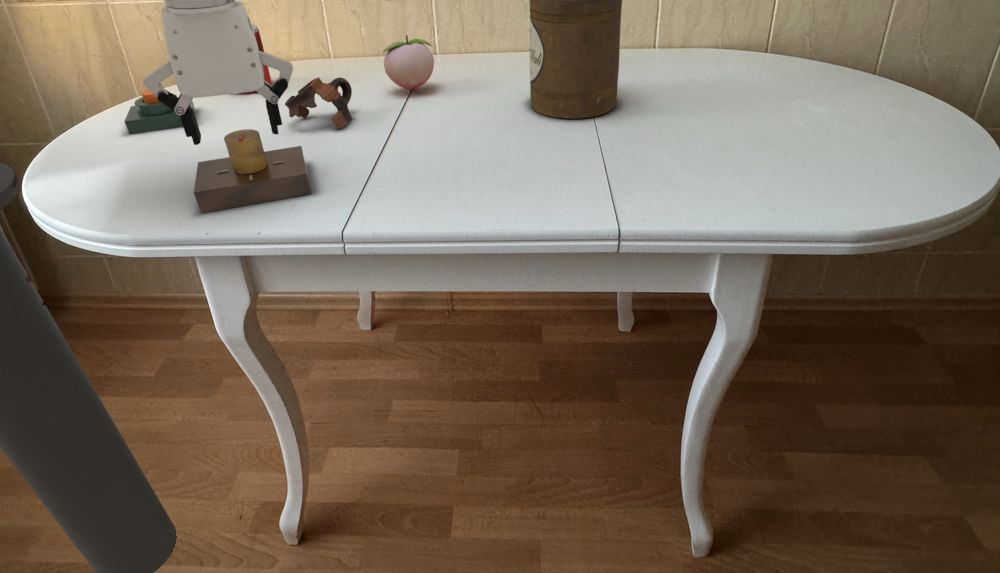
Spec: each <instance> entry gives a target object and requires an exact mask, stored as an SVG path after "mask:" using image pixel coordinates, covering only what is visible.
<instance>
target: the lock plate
mask: <svg viewBox="0 0 1000 573" xmlns="http://www.w3.org/2000/svg"><path fill="white" fill-rule="evenodd" d="M264 153H265V156H266V160H267V164H268V165H267V167H266V168H265V169H263V170H261V171H259V172H255V173H251V174H239V173H236V172H235V171H234V170H233V166H232V163H231V160H230V157H229V156H228V157H222V158H215V159H209V160H203V161H198V162H197V166H196V175H195V182H194V188H193V195H194V197H195V198H194V199H195V200H196V203H197V205H198V209H199V211H200V213H201V214H205V213H212V212H216V211H223V210H227V209H232V208H238V207H240V208H241V207H244V206H249V205H256V204H262V203H268V202H274V201H279V200H285V199H290V198H296V197H302V196H307V195H312V188H311V184H310V183H311V182H310V179H309V178H310V177H309V172H308V169H307V165H306V164H307V163H306V160H305V155H304V150H303V148H302V145H297V146H291V147H285V148H279V149H272V150H271V149H270V150H266V151H265V150H264Z"/></svg>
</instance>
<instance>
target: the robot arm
mask: <svg viewBox="0 0 1000 573" xmlns="http://www.w3.org/2000/svg"><path fill="white" fill-rule="evenodd" d="M163 1H164V5H165V6H163V7H161V8H160V10H161V11H160V12H161V23H162V30H163V34H164V35H163V36H164V41H165V45H166V50H167V54H168V60H167V61H166V62H164V63H163V64H161V65H160V66H159V67H157V68H156V69H154V70H153V71H152V72H150V73H148V74H147V75H146V76H144V78H143V81H142V84H143V86H144V87H145V88H147V89H146V90H149V91H150V92H151V93H152V94H153V95H155V96H156V97H157V98H158V100H159V101H160V102H161V103H163V104H164V105H166V106H167V107H169V108H171V109H172V110H174V111H175V113H176V114H178V115H180V118H181V121H182V124H183V126H182V128H183V130H184V133H185V136H186V138H191V139H192V143H193V145H194V146H198V145H200V144H201V140H202V133H201V130H200V127H199V123H198V120H197V118H196V113H195V114H194V110H193V108H191V106H189V105H190V103H191V101H193V99H194V98H195V99H197V98H198V99H199V98H211V97H217V96H226V95H228V96H229V95H235V94H239V93H245V92H252V91H257V92H256V93H258V94H259V95H260V96H262V97H263V98H264V99H265V108H266V111H267V116H268V121H269V124H270V128H271V133H272V135H279V127H278V126H283V121H282V116H281V111H280V107H279V101H280V99H281V97H282V96H283V95H284V93H286V90H287V89H288V88H289V85H290V84H289V83H290V81H291V77H292V74H293V71H294V66H293V64H292V62H290V61H288V60H286V59H283V58H281V57H278V56H275V55H272V54H269V53H267V52H265V51H264V52H262V51H259V48H258V45H257V41H256V38H255V35H254V31H253V28H252V25H251V24H252V22H251V20H250V17H249V14H248V11H247V9H246V7H245V5H244V3H243V1H241V0H163ZM263 65H265V66H268V68H271V69H273V70H277V71H278V72H279V76H278V78H277V79H276V81H275V82H274V84H273V85H272V84H271V85H270V84H269V83H267V82H266V81H265V80H264V68H263ZM172 75H173V78H174V81H175V84H176V87H177V90H178V92H179V95H178V96H177V95H176V94H175V95H176V96H175V95H173V94H174V93H173V94H172V92H170V91H168V89H165V88H164V86H163V85H162V82H163V81H165V80H166V79H168V78H169V77H171V76H172Z"/></svg>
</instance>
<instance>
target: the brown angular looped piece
mask: <svg viewBox="0 0 1000 573" xmlns="http://www.w3.org/2000/svg"><path fill="white" fill-rule="evenodd" d="M339 88H341V92H342V94H341V92H339ZM352 90H353V88H352V86H351V84H350V82H349V81H348V80H347V79H346V78H344V77H336V78H334V79H333V80H331V81H330V82H328V83H327V82H323V81H322V80H321V78H320V77H315V78H313V79H311V80H310V81H309V82H308V83H306V84H305V85H303V87H301V88H300V89H299V90H298V91H297V94H296V95H295V94H294V95H293V94H292V95H291V96H290V97H289V98H288V99H286V101H285V103H284V106H286V107H287V109H288V111H289V112H288V114H289V118H293V117H297V118H302V119H307V118H308V116H309V114H310V110H309V109H308V108H310V109H315V108H316V107H318V105H317V103H316V99H315V98H316V97H315V96H316V95H317V96H319V97H320V98H321V100H323V101H325V102H327V103H331V104H332V105H334V107H335V108H336V110H337V112H336V113H335V114H333V116H331V119H330V120H331V121H332V122H333V123H334V124H335V126H336V128H337V130H341V129H342V128H344V127H345V126H346V125H347V124H348V123H349V122H350V121H351V120H352V119H353V117H352V115H351V113H350V110H349V106H348V105H349V102H350V101H351V98H352V95H353V94H352V93H353V91H352Z"/></svg>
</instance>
